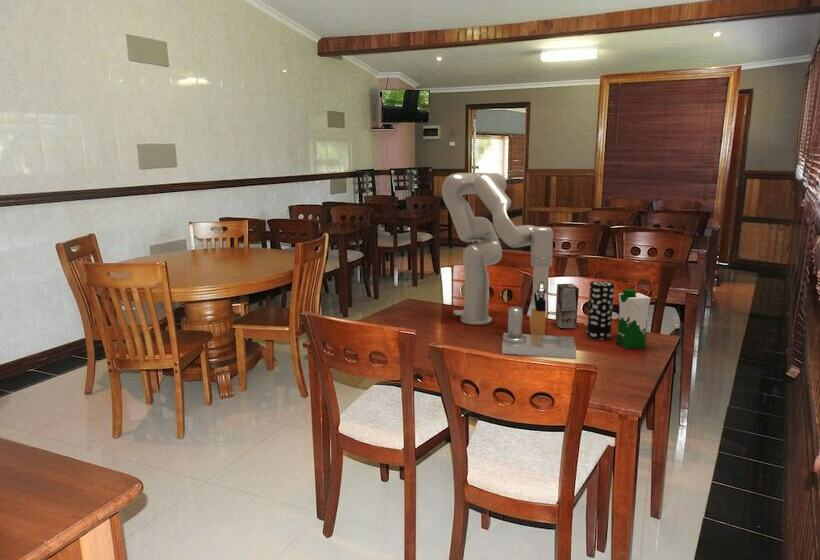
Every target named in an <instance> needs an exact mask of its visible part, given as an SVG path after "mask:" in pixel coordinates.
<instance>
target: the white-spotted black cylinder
mask: <svg viewBox="0 0 820 560" xmlns="http://www.w3.org/2000/svg"><path fill="white" fill-rule="evenodd" d="M588 293H589V296H588V310H587V312H588V313H587V328H586V337H587V336H588V337H590V338H589V339H591V338H593V339H592V340H595V339H599V340H598V341H601V340H600V339H608V340H610V339H611V335H612V332H611V331H612V320H613V307H614V306H613V305H614V294H615V283H614V282H610V281H604V280H603V281H602V280H600V281H599V280H596V281H595V280H594V281H590V282H589V292H588ZM588 337H587V338H588ZM609 338H610V339H609Z"/></svg>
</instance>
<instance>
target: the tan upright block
mask: <svg viewBox="0 0 820 560" xmlns="http://www.w3.org/2000/svg"><path fill="white" fill-rule="evenodd" d="M530 315H531V316H530V334H531V335H546V318H547V317H546V315H547V310H546V311H536V308H531V314H530Z"/></svg>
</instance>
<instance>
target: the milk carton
mask: <svg viewBox="0 0 820 560" xmlns="http://www.w3.org/2000/svg"><path fill="white" fill-rule="evenodd" d="M651 299H652V297H649V296H647V295H645V294H643V293H640V292H637V290H636V289H634V288H624V289H623V291H622V293H618V303H619V308H618V309H619V311H618V324H617V325H618V326H617V335H616V342H617V343H616V342H615V343H616V344H618V345H619V346H622V347H623V348H624V349H626V350H627V349H629V350H630V349H646V345H647V344H646V341H647V340H646V339H647V327H648V315H649V307H650V303H651Z"/></svg>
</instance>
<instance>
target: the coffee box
mask: <svg viewBox="0 0 820 560" xmlns="http://www.w3.org/2000/svg"><path fill="white" fill-rule="evenodd" d="M579 292H580V288H579V287H578V286H576V285H575V284H573V283H557V284H556V297H555V298H556V301H555V302H556V303H555V304H556V305H555V322H556V323H557V324H556V323H555V322H554V323H555V324H556V325H557V327H558V328H559V327H560V328H576V329H577V324H578V323H577V321H578V308H579V307H578V305H579ZM560 328H559V329H560Z"/></svg>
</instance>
